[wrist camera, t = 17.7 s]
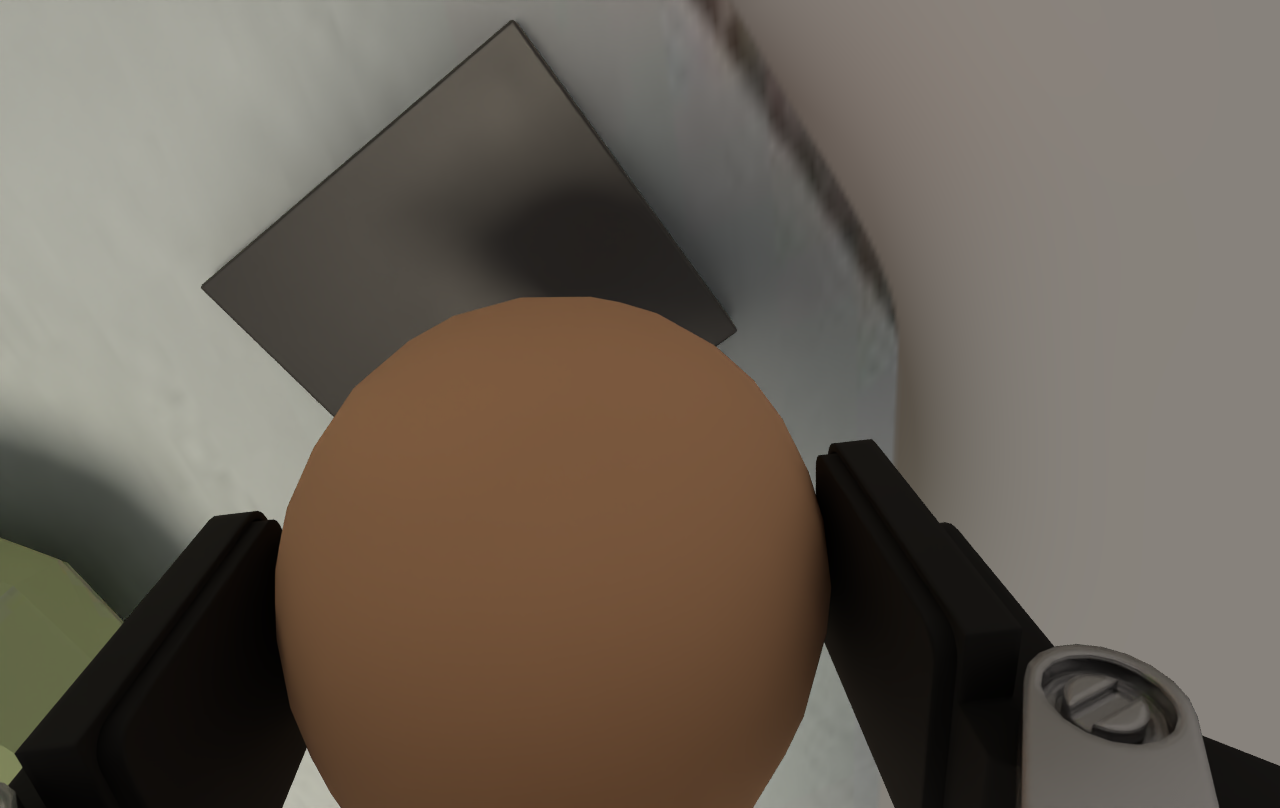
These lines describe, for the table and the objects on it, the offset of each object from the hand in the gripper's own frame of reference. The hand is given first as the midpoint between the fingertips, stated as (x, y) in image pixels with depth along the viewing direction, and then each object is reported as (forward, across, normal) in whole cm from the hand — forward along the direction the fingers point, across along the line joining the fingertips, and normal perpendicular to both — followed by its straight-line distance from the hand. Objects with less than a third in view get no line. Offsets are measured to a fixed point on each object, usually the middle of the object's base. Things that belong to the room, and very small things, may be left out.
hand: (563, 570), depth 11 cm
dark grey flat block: (+15, +3, 0) cm, 15 cm away
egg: (+5, 0, 0) cm, 5 cm away
